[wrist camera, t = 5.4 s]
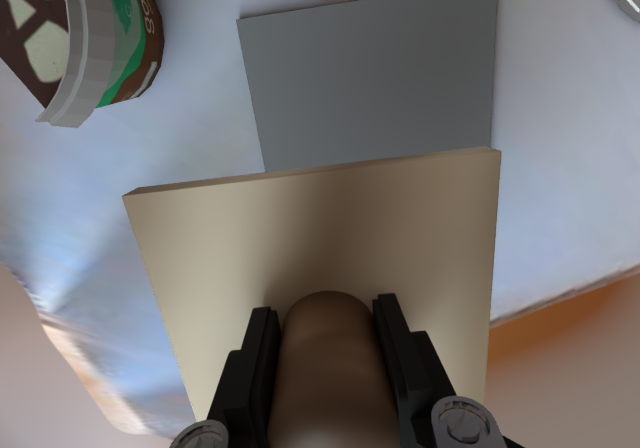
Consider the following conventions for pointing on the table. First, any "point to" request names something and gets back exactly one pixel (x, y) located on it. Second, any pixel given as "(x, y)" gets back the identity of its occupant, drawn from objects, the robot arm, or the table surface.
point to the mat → (370, 80)
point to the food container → (81, 52)
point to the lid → (326, 281)
